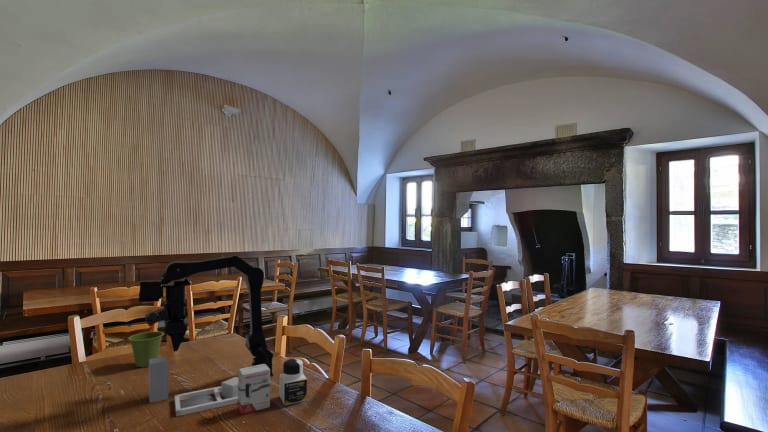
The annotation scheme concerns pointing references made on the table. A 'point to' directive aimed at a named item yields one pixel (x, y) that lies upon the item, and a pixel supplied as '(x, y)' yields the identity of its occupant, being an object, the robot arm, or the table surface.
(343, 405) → the table surface
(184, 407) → the frame
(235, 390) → the small box
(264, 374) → the ink box
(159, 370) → the block
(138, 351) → the plant pot
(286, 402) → the medicine bottle
